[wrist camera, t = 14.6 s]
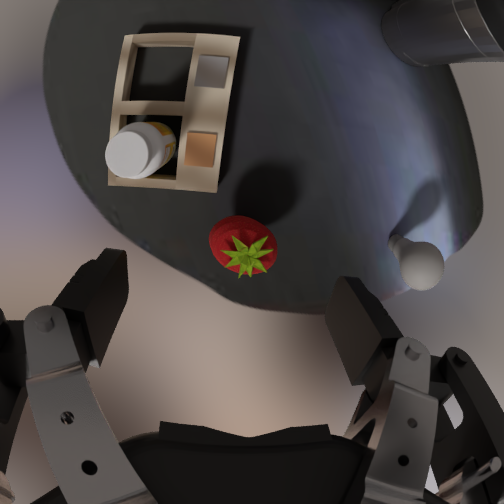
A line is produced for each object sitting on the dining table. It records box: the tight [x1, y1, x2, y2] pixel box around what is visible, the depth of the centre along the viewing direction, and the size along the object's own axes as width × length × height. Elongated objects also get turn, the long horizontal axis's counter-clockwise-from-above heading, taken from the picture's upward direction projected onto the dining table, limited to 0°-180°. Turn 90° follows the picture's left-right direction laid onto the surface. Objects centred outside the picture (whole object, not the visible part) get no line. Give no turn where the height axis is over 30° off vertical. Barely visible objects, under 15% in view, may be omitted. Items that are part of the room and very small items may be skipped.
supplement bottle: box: [105, 122, 176, 179], centre depth 24 cm, size 5×5×10 cm
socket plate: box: [108, 33, 240, 193], centre depth 25 cm, size 18×12×3 cm
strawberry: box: [209, 215, 277, 277], centre depth 29 cm, size 6×8×10 cm
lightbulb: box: [388, 234, 444, 290], centre depth 32 cm, size 6×6×11 cm
